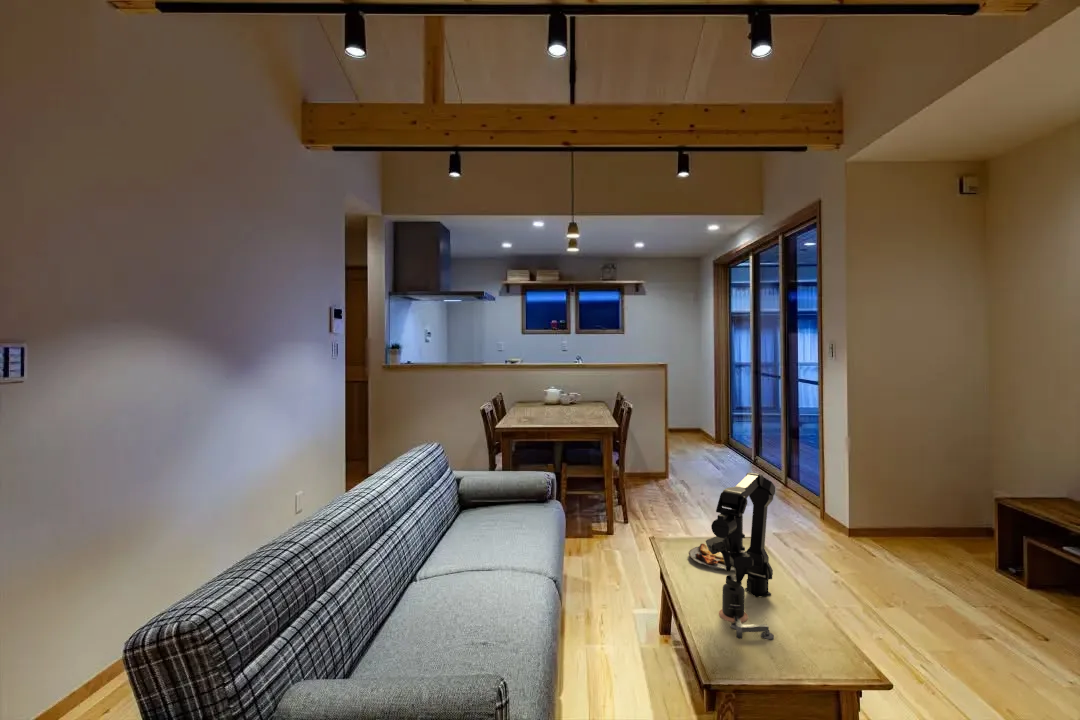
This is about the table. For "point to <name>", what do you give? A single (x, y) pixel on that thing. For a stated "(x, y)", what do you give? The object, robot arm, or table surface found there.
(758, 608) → the table surface
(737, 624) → the jointed grey bar linkage
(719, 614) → the peach domed disc
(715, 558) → the food plate
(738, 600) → the supplement bottle
